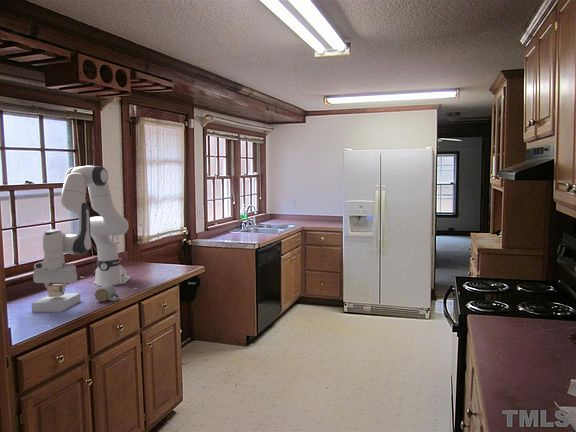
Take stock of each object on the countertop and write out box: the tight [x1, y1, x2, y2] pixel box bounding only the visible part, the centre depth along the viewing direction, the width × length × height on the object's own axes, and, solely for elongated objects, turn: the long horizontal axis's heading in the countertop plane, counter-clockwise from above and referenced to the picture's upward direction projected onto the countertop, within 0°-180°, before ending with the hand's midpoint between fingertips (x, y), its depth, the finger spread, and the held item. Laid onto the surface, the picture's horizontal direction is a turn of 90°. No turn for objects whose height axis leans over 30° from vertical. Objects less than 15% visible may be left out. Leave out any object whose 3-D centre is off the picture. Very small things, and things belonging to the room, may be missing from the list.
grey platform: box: [31, 292, 82, 313], centre depth 229 cm, size 18×14×4 cm
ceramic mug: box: [94, 284, 120, 303], centre depth 238 cm, size 11×8×8 cm
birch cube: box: [47, 283, 65, 297], centre depth 229 cm, size 5×5×5 cm
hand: (56, 291), depth 229 cm, fingers open, 5 cm apart
